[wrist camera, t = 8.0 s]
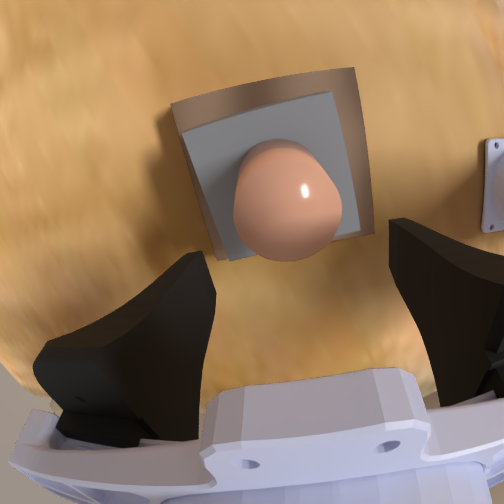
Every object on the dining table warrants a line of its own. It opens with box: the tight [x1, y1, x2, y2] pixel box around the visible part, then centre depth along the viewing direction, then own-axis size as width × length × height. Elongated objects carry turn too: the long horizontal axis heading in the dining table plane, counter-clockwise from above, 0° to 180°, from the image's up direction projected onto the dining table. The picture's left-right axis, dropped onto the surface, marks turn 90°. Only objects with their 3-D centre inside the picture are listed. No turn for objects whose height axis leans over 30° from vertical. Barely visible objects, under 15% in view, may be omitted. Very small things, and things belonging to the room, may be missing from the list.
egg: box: [233, 139, 342, 261], centre depth 15 cm, size 4×4×4 cm
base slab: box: [170, 67, 374, 261], centre depth 20 cm, size 11×11×2 cm
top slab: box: [182, 91, 361, 261], centre depth 18 cm, size 8×8×2 cm
